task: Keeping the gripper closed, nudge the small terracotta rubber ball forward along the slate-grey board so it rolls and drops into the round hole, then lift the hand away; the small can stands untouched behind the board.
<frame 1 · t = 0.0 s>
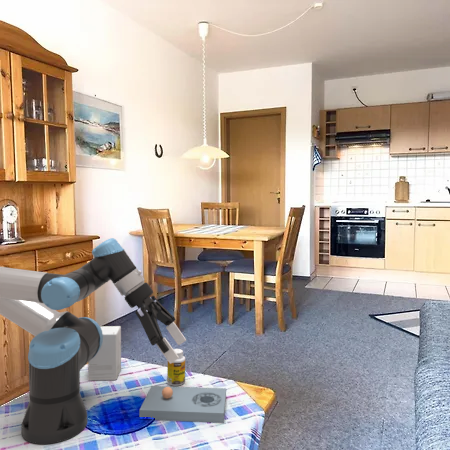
hand: (178, 351, 113), 15 cm above the table, tool tilted 35°, fingers open, 13 cm apart
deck: (185, 407, 112), on the table
supplement bottle: (176, 383, 128), on the table
ball: (167, 392, 112), point 4 cm above the table, touching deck
supplement box: (105, 375, 133), on the table
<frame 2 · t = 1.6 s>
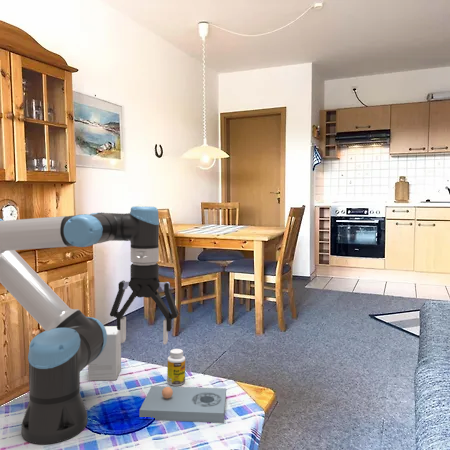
hand: (144, 342, 112), 18 cm above the table, tool pointing down, fingers open, 11 cm apart
nothing on the table moved.
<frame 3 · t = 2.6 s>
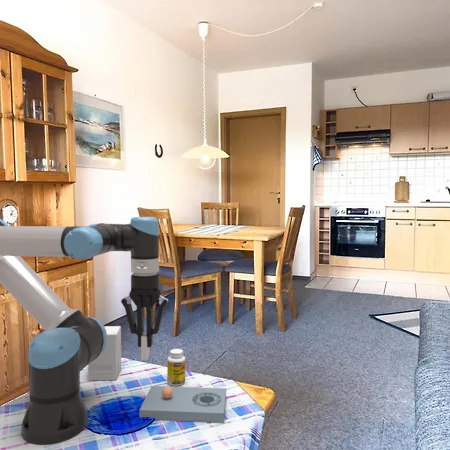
hand: (145, 358, 112), 14 cm above the table, tool pointing down, fingers closed
nothing on the table moved.
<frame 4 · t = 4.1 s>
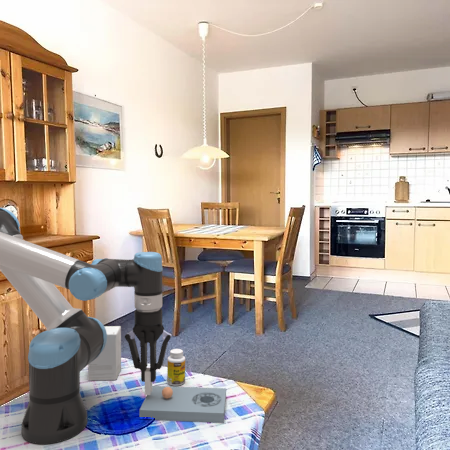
hand: (148, 392, 113), 4 cm above the table, tool pointing down, fingers closed
nothing on the table moved.
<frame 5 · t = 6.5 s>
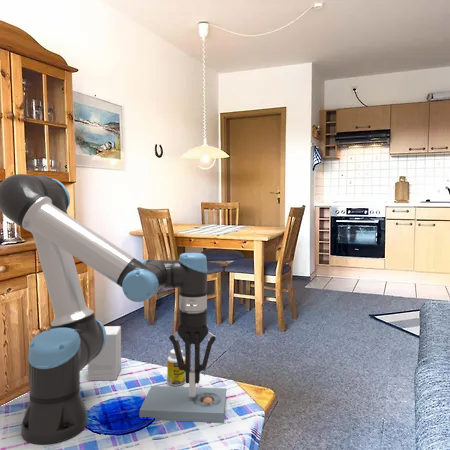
hand: (192, 394, 112), 4 cm above the table, tool pointing down, fingers closed
ball: (207, 403, 112), point 1 cm above the table, tilted 120°
everything else where it was.
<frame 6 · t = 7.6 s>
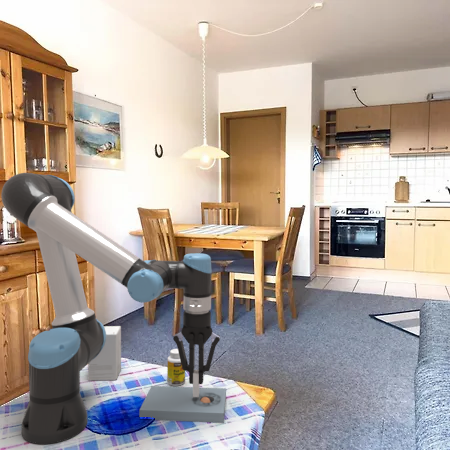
hand: (196, 394, 112), 4 cm above the table, tool pointing down, fingers closed
ball: (205, 402, 112), point 1 cm above the table, tilted 90°
everything else where it was.
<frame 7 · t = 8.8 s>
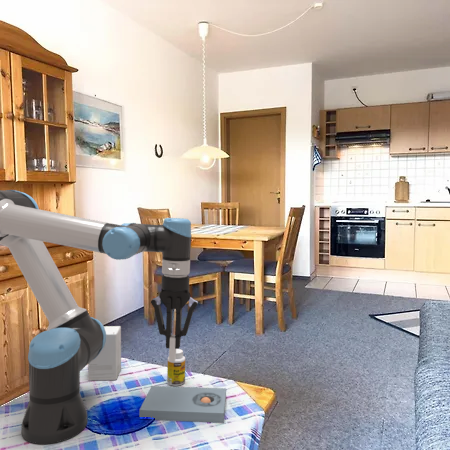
hand: (172, 359, 112), 13 cm above the table, tool pointing down, fingers closed
ball: (205, 402, 112), point 1 cm above the table, tilted 96°
everything else where it was.
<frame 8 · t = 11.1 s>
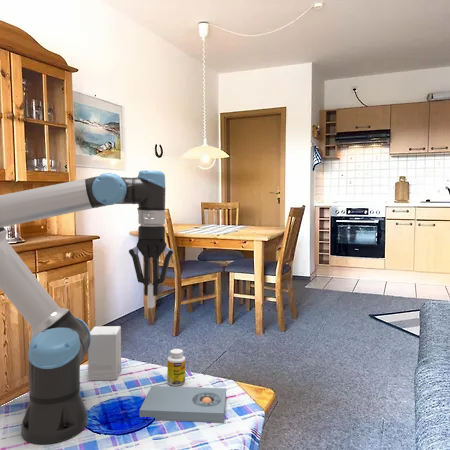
hand: (151, 306, 117), 26 cm above the table, tool pointing down, fingers closed
ball: (206, 402, 112), point 1 cm above the table, tilted 107°
everything else where it was.
at the end: ball 0.0 cm from the target spot in the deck, point 1.5 cm above the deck's base; ball moved 11.2 cm from its start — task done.
